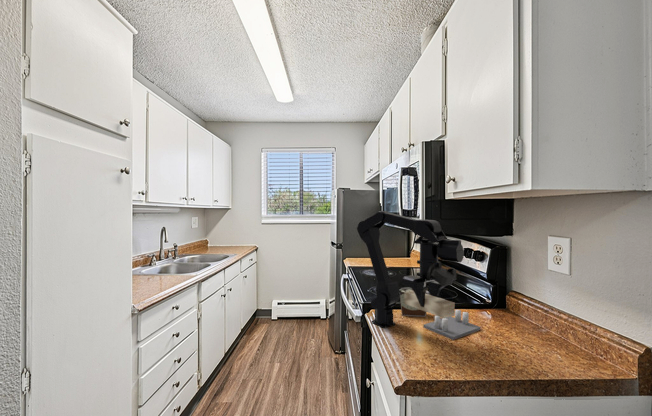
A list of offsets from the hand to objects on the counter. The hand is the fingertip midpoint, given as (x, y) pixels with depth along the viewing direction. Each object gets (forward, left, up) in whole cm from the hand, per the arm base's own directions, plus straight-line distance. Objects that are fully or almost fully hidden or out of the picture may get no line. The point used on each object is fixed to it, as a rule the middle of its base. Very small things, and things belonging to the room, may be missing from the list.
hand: (428, 305), depth 99 cm
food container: (-19, +15, -11) cm, 26 cm away
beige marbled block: (0, 0, -1) cm, 1 cm away
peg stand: (-1, +15, -11) cm, 18 cm away
